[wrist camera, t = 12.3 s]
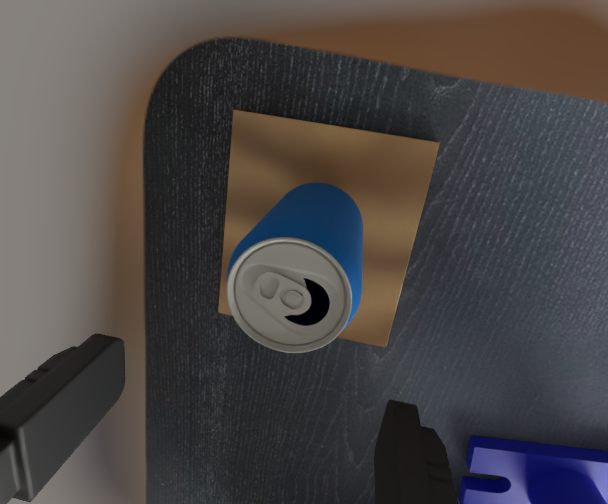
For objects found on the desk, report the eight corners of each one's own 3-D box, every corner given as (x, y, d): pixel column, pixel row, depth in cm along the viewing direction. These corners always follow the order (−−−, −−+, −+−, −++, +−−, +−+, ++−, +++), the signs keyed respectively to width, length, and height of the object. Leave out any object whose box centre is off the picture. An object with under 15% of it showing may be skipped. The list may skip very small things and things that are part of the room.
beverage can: (338, 280, 29) (322, 382, 18) (261, 242, 29) (198, 323, 18) (379, 205, 27) (390, 271, 16) (296, 164, 27) (248, 201, 16)
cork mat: (235, 109, 27) (233, 109, 26) (438, 142, 26) (440, 142, 25) (220, 309, 32) (217, 312, 32) (385, 343, 31) (386, 348, 31)
